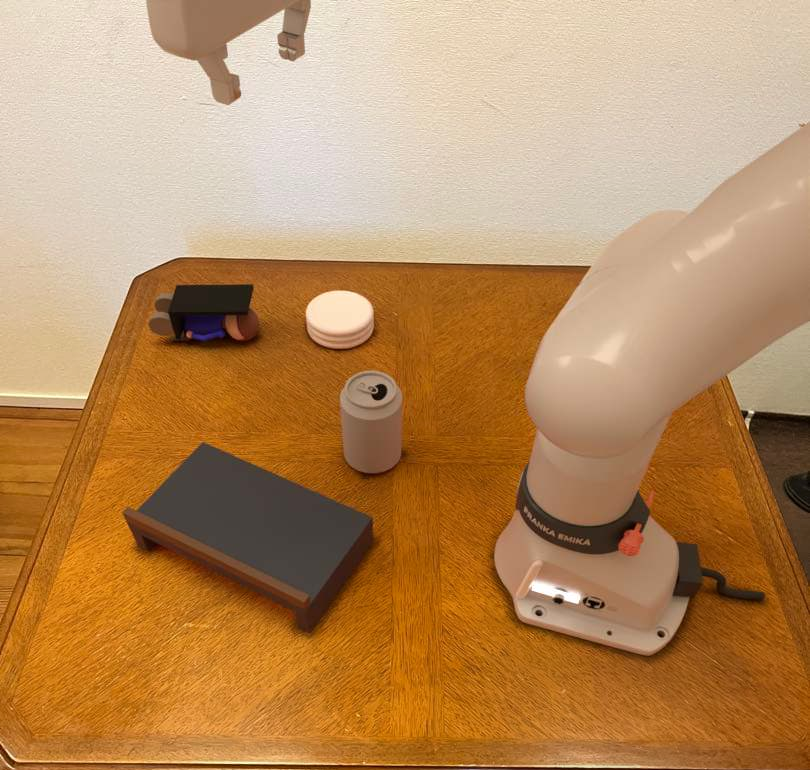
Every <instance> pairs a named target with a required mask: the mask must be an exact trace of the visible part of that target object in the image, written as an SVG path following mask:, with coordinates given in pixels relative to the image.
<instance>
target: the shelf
mask: <svg viewBox="0 0 810 770" xmlns="http://www.w3.org/2000/svg"><path fill="white" fill-rule="evenodd" d="M121 514H122V515H123V517H124V520H125V523H126V524H127V526H128V528H129V530H130V532H131V534H132V537H133V538H134V540H135V543H136V544H137V547H138V548H140V549H142V550H145V551H146V552H150V551H151V550H152V549H153V548H154V547H155V546H156V545H157V544H158V545H160V546H162V547H164V548H166V549H168V550H170V551H172V552H174V553H176V554H178V555H180V556H182V557H184V558H186V559H188V560H190V561H192V562H194V563H197V564H199V565H200V566H202V567H203V568H206V569H208V570H210V571H212V572H214V573H216V574H217V575H220V576H222V577H224V578H226V579H229V580H230V581H233V582H234V583H236V584H239V585H241V586H242V587H244V588H247V589H248V590H251V591H252V592H254V593H256V594H258V595H261V597H264V598H266V599H268V600H270V601H272V602H274V603H276V604H279V605H280V606H282V607H285V608H286V609H288V610H291V611H292V612H294V614H295V619H296V624H297V628H298V629H301V630H303V631H304V632H307V633H308V634H311V632H312V631H313V630H314V629H315V628H316V625H318V622H319V621H320V620H321V619H322V617H323V615H324V614H325V612H326V611H327V610H328V608H329V607H330V606H331V604H332V603H333V601H334V600H335V598H336V597H337V595H338V594H339V593H340V591H341V590H342V588H343V587H344V586H345V584H346V583H347V582H348V579H349V578H350V577H351V576H352V574H353V572H354V571H355V569H356V568H357V567H358V565H359V564H360V562H361V561H362V560H363V558H364V557H365V555H366V554H367V552H368V551H369V549H370V548H371V547H372V545H373V544H374V519H373V518H374V517H373V516H371V515H369V514H366V513H364V512H362V511H360V510H357V509H355V508H353V507H350V506H348V505H346V504H344V503H341V502H339V501H337V500H334V499H332V498H330V497H328V496H325V495H324V494H322V493H319V492H316V491H314V490H312V489H310V488H307V487H306V486H303V485H301V484H299V483H297V482H294V481H292V480H291V479H290V480H289V479H287V478H285V477H283V476H281V475H279V474H276V473H274V472H272V471H269V470H267V469H264V468H263V467H260V466H258V465H256V464H253V463H251V462H249V461H247V460H245V459H242V458H240V457H238V456H235V455H234V454H231V453H228V452H227V451H224V450H222V449H220V448H218V447H215V446H213V445H210V444H209V443H206V442H205V441H202V442H201V443H200V444H199V445H198V446H197V447H196V448H195V449H194V450H193V451H192V452H191V453H190V454H189V455H188V456H187V457H186V459H184V461H183V462H181V463H180V465H178V467H177V468H176V469H175V470H174V471H173V472H172V473H171V474H170V475H169V476H168V477H167V478H166V479H165V480H164V481H163V482H162V483H161V484H160V485H159V487H157V488H156V489H155V490H154V492H152V494H151V495H150V496H149V497H148V498H146V500H145V501H144V502H143V503H142V504H141V505H140V506H139V507H138V508H137V509H134V508H132V507H130V506H127V507H126V508H124V510H123V511H122V512H121Z"/></svg>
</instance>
